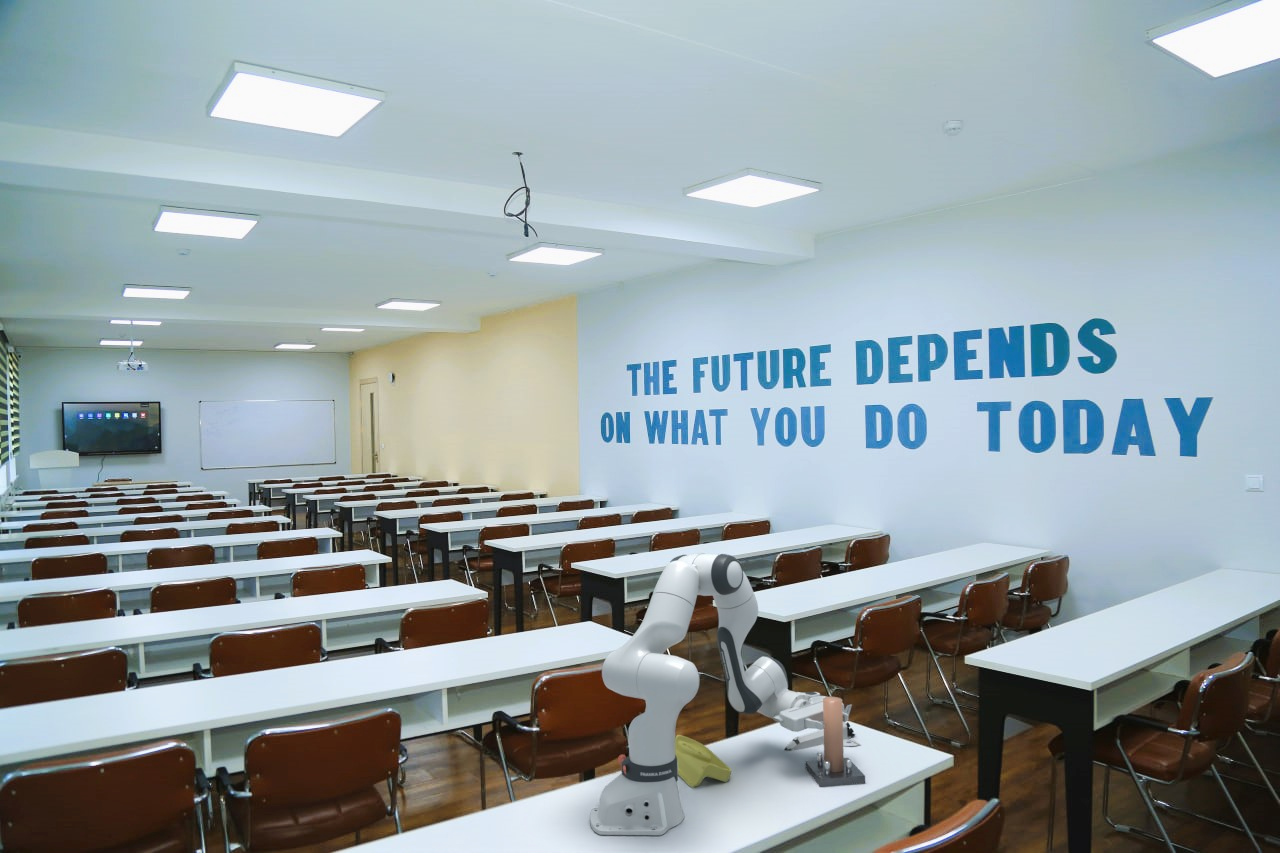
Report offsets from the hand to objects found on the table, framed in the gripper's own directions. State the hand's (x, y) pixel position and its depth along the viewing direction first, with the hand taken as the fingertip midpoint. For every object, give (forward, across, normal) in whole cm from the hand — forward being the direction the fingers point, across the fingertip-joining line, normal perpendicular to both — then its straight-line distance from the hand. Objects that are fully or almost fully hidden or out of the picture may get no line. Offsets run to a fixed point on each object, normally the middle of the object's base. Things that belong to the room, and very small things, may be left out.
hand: (835, 722), depth 210 cm
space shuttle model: (-19, +15, +15) cm, 29 cm away
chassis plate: (-1, 0, +14) cm, 14 cm away
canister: (-1, 0, +12) cm, 12 cm away
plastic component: (-26, -25, +15) cm, 39 cm away
